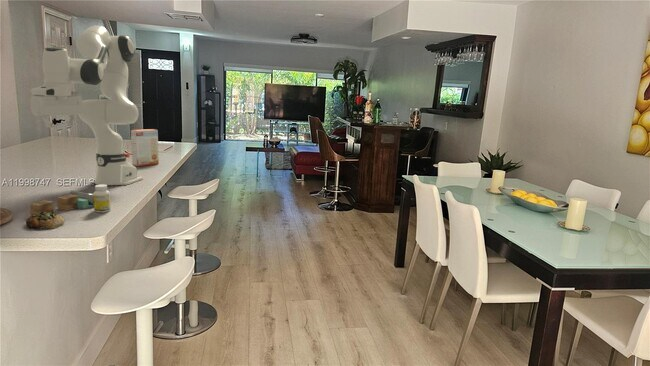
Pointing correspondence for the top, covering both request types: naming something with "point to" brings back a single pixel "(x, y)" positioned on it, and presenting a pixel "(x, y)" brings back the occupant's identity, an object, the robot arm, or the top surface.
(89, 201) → the axle
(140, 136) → the cracker box
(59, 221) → the bread roll
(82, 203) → the cradle
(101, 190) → the supplement bottle
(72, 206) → the pair of brown blocks
